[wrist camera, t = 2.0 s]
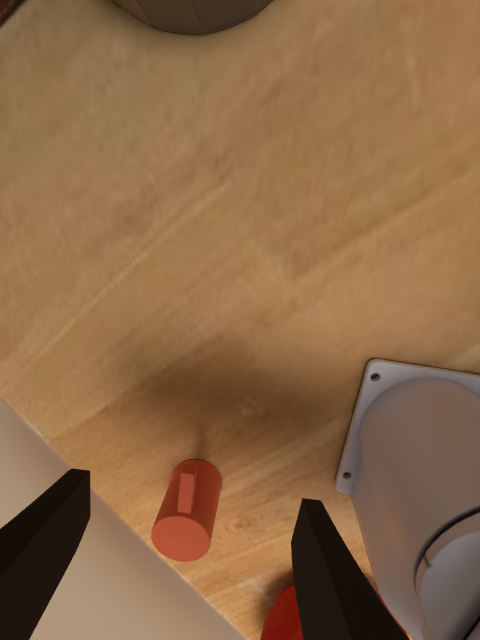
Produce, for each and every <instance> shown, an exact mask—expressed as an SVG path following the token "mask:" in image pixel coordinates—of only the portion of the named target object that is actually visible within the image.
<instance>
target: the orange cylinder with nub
mask: <svg viewBox="0 0 480 640" xmlns="http://www.w3.org/2000/svg"><path fill="white" fill-rule="evenodd" d="M221 485H222V479H221V476H220V474H219V472H218V470H217V469H216V468H215V467H214V466H212V465H211V464H209V463H207V462H205V461H202V460H187V461H185V462H183V463H181V464H180V465H178V466H177V468H176V469H175V471H174V474H173V476H172V479H171V482H170V484H169V487H168V489H167V492H166V494H165V497H164V500H163V502H162V505H161V507H160V510H159V513H158V515H157V518H156V520H155V523H154V526H153V528H152V532H151V538H152V542H153V544H154V546H155V547H156V549H157V550H158V551H159V552H160V553H162V554H163V555H164V556H166V557H168V558H170V559H173V560H176V561H182V562H189V561H194V560H197V559H200V558H201V557H203V556H204V555H205V554H206V553H207V551H208V550H209V547H210V542H211V537H212V532H213V527H214V522H215V516H216V511H217V506H218V501H219V496H220V490H221Z"/></svg>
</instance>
